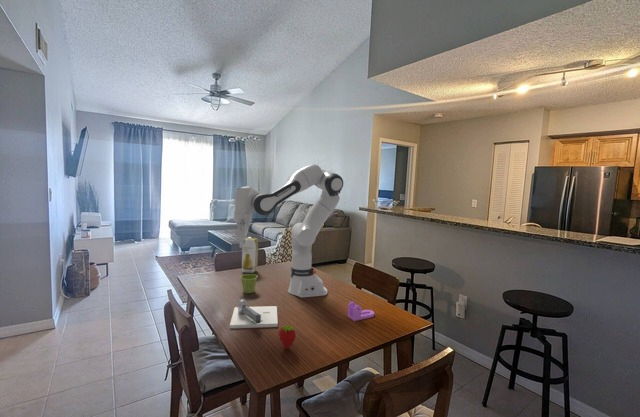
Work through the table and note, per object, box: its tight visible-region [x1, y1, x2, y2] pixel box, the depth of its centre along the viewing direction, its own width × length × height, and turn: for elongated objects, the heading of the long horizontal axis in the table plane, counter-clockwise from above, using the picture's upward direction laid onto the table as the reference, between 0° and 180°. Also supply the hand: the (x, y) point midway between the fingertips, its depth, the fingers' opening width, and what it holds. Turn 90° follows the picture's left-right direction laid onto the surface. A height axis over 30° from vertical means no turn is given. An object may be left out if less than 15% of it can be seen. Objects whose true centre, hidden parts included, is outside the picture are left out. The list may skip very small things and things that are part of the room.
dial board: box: [229, 305, 279, 329], centre depth 136 cm, size 20×18×2 cm
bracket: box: [347, 301, 375, 322], centre depth 143 cm, size 13×6×7 cm, turn 118°
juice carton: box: [241, 236, 259, 274], centre depth 203 cm, size 9×8×24 cm
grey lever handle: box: [237, 298, 261, 323], centre depth 132 cm, size 17×4×6 cm, turn 42°
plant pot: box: [240, 273, 259, 294], centre depth 168 cm, size 9×9×9 cm
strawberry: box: [278, 322, 297, 350], centre depth 113 cm, size 6×8×10 cm
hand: (242, 245), depth 152 cm, fingers open, 8 cm apart
